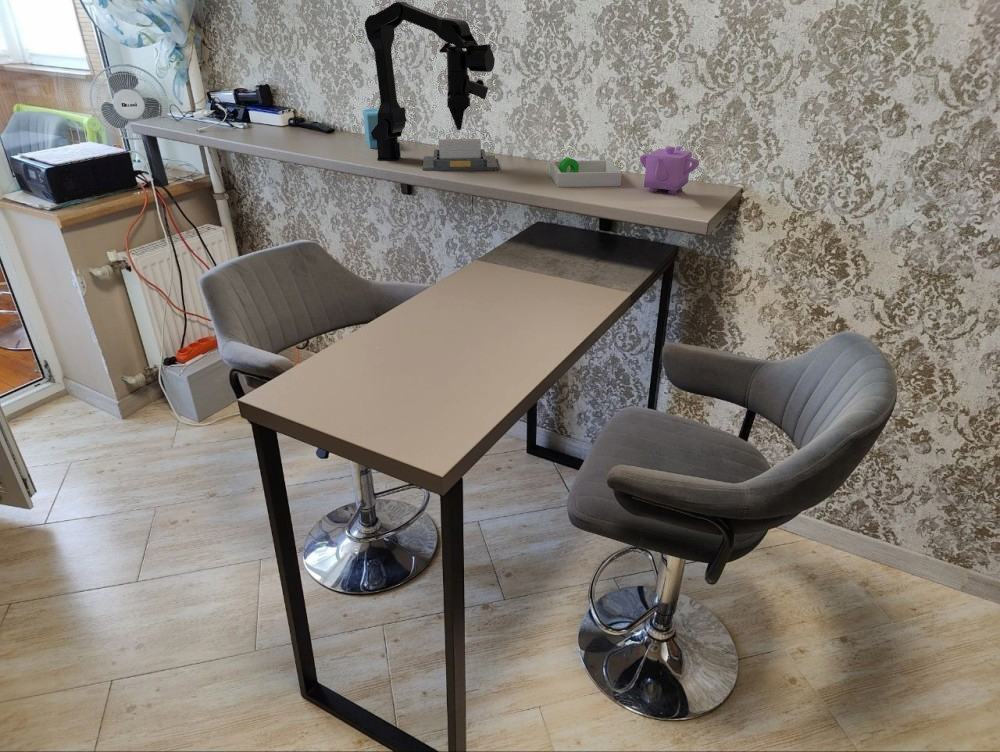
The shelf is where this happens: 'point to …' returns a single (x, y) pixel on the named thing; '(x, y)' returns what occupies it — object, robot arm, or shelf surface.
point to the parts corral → (587, 174)
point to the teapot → (667, 169)
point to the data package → (370, 126)
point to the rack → (459, 163)
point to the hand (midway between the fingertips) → (459, 129)
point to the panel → (459, 149)
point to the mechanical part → (568, 162)
